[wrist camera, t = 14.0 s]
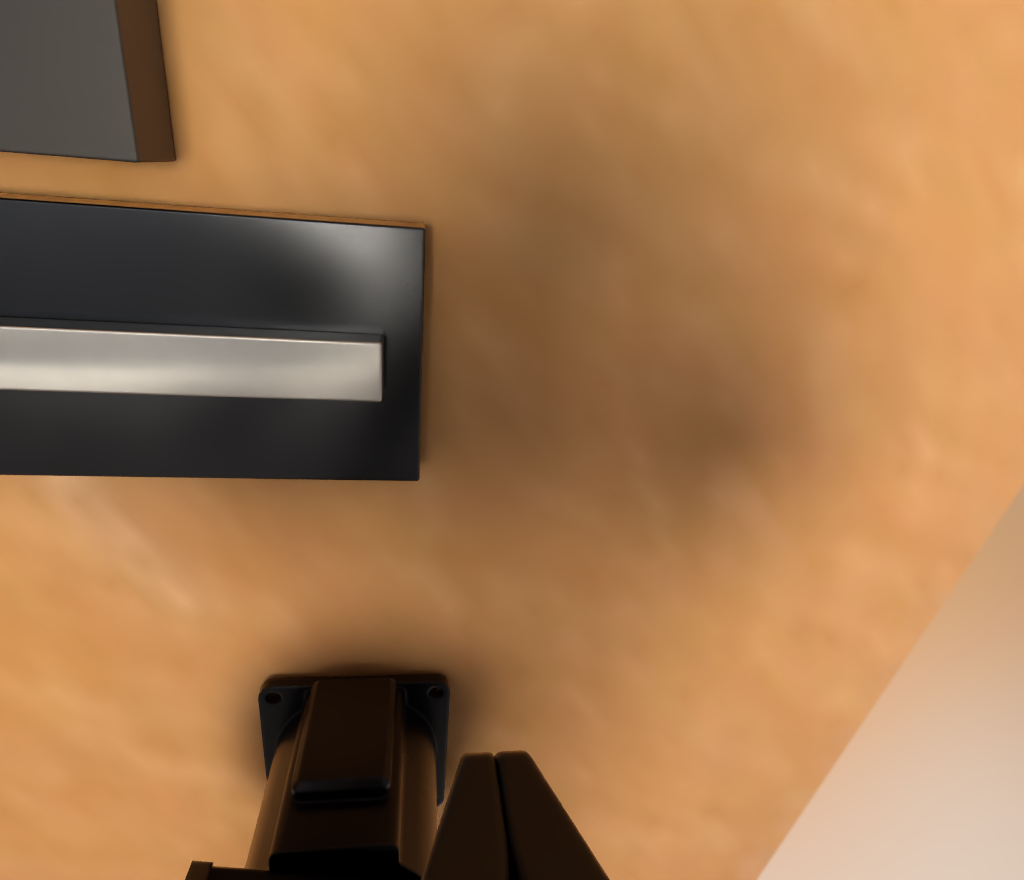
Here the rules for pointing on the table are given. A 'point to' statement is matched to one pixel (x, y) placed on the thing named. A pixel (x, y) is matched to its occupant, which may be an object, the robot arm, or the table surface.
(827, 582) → the table surface
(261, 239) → the rail
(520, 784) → the robot arm
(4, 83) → the box
